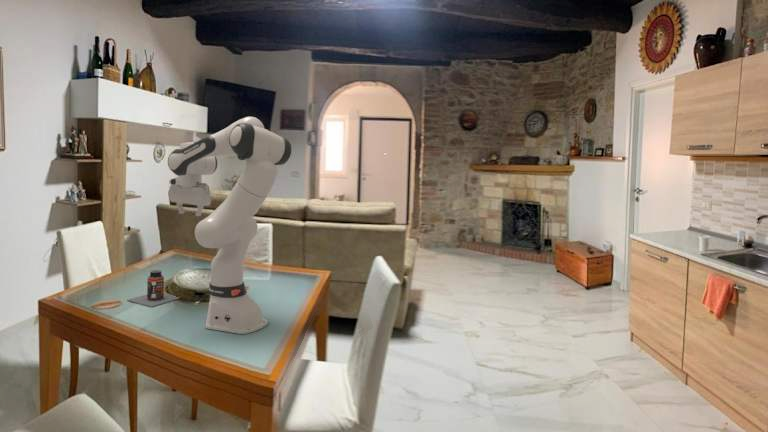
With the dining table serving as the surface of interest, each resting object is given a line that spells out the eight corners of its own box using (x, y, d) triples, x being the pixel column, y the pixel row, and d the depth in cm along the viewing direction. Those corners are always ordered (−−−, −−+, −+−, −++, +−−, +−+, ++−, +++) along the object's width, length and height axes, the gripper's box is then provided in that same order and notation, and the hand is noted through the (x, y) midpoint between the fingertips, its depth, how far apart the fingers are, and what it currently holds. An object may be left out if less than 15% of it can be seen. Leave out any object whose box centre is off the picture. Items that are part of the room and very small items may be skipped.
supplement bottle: (156, 301, 180) (156, 273, 179) (143, 299, 182) (143, 271, 180) (167, 297, 186) (167, 270, 185) (154, 295, 188) (154, 268, 186)
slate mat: (181, 298, 187) (181, 297, 187) (151, 307, 175) (151, 306, 175) (157, 292, 193) (157, 291, 193) (127, 301, 181) (127, 299, 181)
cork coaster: (127, 303, 178) (127, 302, 178) (102, 310, 169) (102, 310, 169) (110, 299, 182) (110, 298, 182) (85, 305, 173) (85, 305, 173)
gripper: (214, 183, 186) (214, 216, 188) (178, 179, 195) (178, 211, 196) (202, 183, 181) (202, 218, 182) (166, 179, 189) (166, 212, 191)
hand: (189, 214), depth 189 cm, fingers open, 8 cm apart
